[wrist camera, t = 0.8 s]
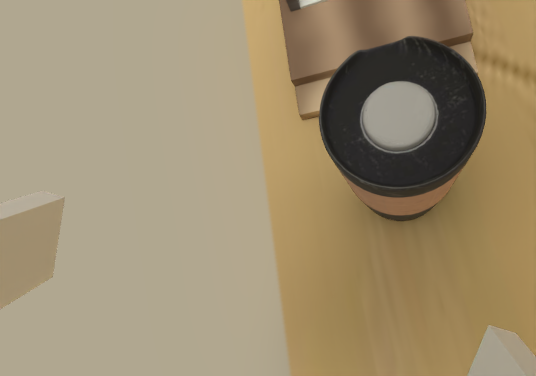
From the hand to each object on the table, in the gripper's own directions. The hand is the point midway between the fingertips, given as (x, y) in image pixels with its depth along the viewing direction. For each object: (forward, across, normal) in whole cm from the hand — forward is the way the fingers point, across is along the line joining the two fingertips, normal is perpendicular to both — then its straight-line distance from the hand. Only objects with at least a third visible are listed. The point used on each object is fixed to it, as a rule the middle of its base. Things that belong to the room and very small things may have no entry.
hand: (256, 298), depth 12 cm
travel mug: (+27, +9, +1) cm, 29 cm away
